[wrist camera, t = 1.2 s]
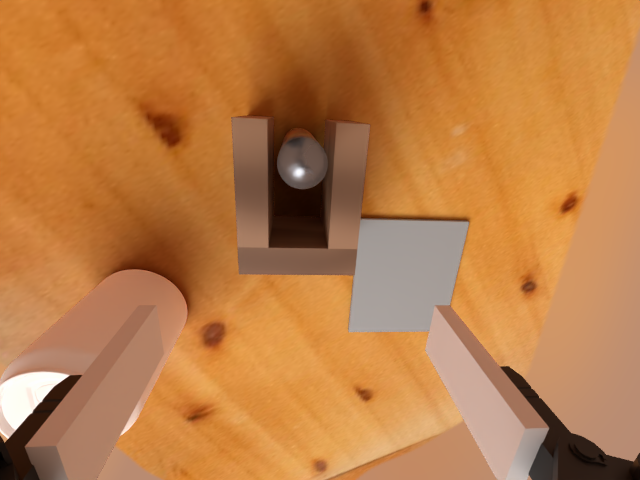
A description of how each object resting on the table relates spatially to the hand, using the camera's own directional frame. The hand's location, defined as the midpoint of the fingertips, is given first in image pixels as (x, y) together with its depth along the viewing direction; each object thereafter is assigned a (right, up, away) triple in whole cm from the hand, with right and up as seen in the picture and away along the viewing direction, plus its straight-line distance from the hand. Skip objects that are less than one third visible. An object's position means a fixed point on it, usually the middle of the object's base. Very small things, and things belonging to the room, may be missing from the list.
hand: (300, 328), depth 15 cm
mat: (+9, +1, +16) cm, 18 cm away
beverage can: (-15, -2, +15) cm, 21 cm away
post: (-1, +12, +10) cm, 16 cm away
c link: (-1, +9, +11) cm, 15 cm away
